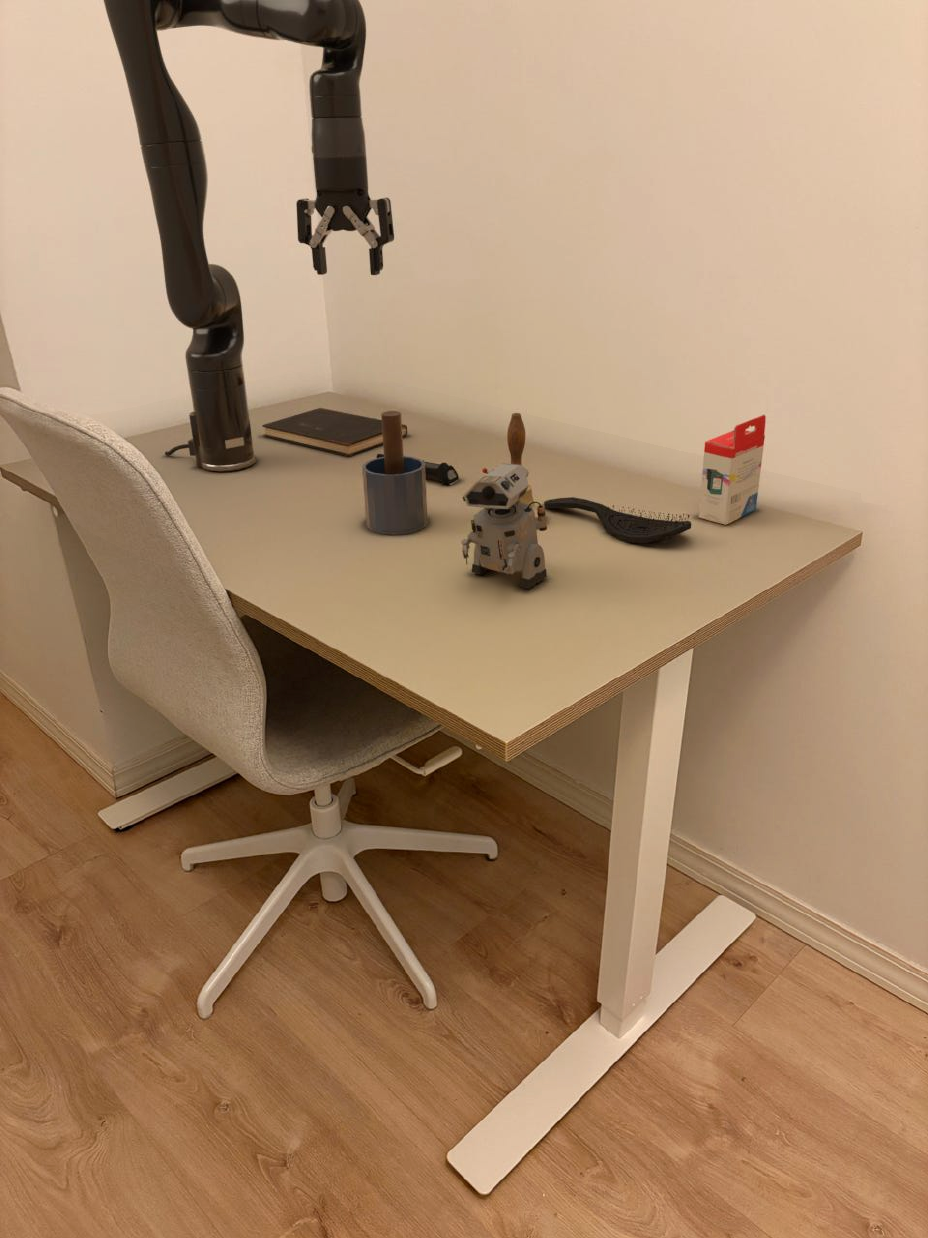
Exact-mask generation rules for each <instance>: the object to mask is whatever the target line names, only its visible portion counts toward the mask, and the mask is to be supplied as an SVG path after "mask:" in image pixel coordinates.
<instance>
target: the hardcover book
mask: <svg viewBox="0 0 928 1238" xmlns="http://www.w3.org/2000/svg"><path fill="white" fill-rule="evenodd" d="M261 427H262V428H264V430H265V431H264V432H265V434H263V435H262V436H263V437H264V438H268V439H272V440H275V441H281V442H285V443H289V444H292V445H297V446H300V447H301V446H302V447H306V448H311V449H314V450H319V451H323V452H328V453H330V454H331V453H332V454H336V455H339V456H344V457H349V458H350V457H352V456H355V455H357V454H360V453H363V452H366V451H369V450H372V449H375V448H377V447H380V446H383V433H382V419H378V418H374V417H369V416H364V415H359V414H353V413H350V412H343V411H339V410H334V409H330V408H329V409H328V408H323V407H318V408H314V409H312V410H309V411H308V410H307V411H304V412H301V413H298V414H293V415H291V416H288V417H284V418H281V419H278V420H274V421H271V422H268V423H264V424H262V425H261ZM407 435H408V426H407V424H404V423H402V437H403V438H405V437H407Z"/></svg>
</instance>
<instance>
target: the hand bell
mask: <svg viewBox="0 0 928 1238" xmlns="http://www.w3.org/2000/svg"><path fill="white" fill-rule="evenodd" d="M506 433H507V434H506V438H507V439H506V440H507V441H506V442H507V447H508V450H509V455H510V464H519V465H521V466H523V464H522V457H523V452H524V450H525V445H526V428H525V425H524V421H523V419H522V414H521V413H519V412H513V413H511V417H510V421H509V423H508V427H507V432H506ZM532 490H533V489H532V485H531V484H530V483H528V488H527V491H526V494H525V495H524V496H523V497H522V498H521V499H520V501H521V502H520V503H524V504H528V505H529V504H530V503H532V502H535V501H534V497H533V491H532ZM531 506H532V508H533V510H534V512H535V517H538V515H537V506H536V503H533V504H531Z"/></svg>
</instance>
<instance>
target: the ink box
mask: <svg viewBox="0 0 928 1238" xmlns="http://www.w3.org/2000/svg"><path fill="white" fill-rule="evenodd" d="M766 417H767V416H766V415H765V414H762V415H760V416H757V417H754V418H752V419H748V420H747V421H744V422H741V423H738V424H736V425H735V426H734V427H733V430H731V431H728V432H726V433H724V434H721V435H719V436H716V437H714V438H711V439H708V440H705V441H704V448H703V451H704V452H703V460H702V461H703V462H702V471H701V486H700V497H699V508H698V518H699V519H702V520H706V521H710V522H713V523H716V524H721V525H724V526H726V525H729V524H731V523H733V522H735V521H736V520H739V519H740V518H742V517H744V516H747V515H749V514H751V513H753V512H754V511H756V509H757V504H758V503H757V502H758V497H759V496H758V495H759V488H760V480H761V479H760V478H761V469H762V463H763V462H762V461H763V453H764V447H765V439H766V438H765V437H766V436H765V435H766V434H765V431H766ZM750 427H751V428H752V427H754V429H753V430H752V431H750V430H747V429H749V428H750Z"/></svg>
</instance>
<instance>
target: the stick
mask: <svg viewBox="0 0 928 1238" xmlns="http://www.w3.org/2000/svg"><path fill="white" fill-rule="evenodd" d="M380 415H381V417H380V418H381V420H382V433H383V445H382V446H383V447H382V448H383V454H384V464H385V474H402V473H404V456H405V455H404V440H403V439H404V437H402V424H403V422H402V421H403V420H402V412H401V411H399V410H398V411H397V410H385V411H383V412H381V414H380Z"/></svg>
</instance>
